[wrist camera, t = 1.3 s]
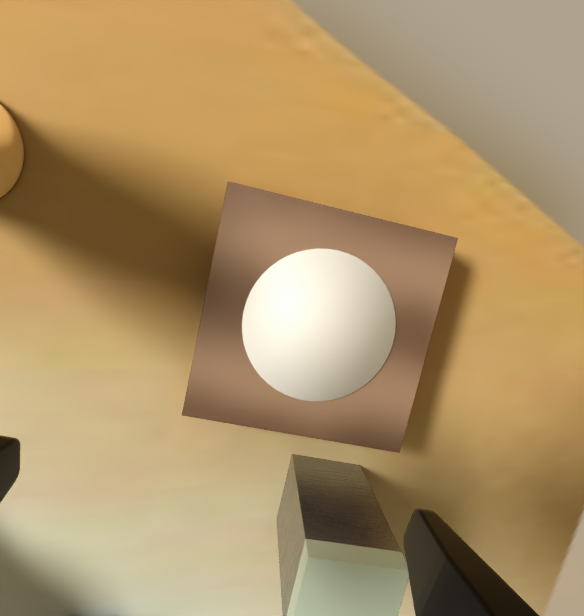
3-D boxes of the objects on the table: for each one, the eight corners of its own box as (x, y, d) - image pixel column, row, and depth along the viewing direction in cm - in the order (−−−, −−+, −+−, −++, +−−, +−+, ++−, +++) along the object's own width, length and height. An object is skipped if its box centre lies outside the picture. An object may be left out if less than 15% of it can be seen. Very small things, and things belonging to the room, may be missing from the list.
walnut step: (384, 428, 23) (403, 454, 20) (192, 393, 22) (181, 415, 19) (434, 241, 22) (462, 239, 19) (232, 192, 20) (227, 180, 17)
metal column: (343, 528, 24) (384, 661, 16) (276, 518, 23) (284, 651, 15) (360, 465, 23) (410, 570, 15) (292, 454, 23) (308, 557, 15)
